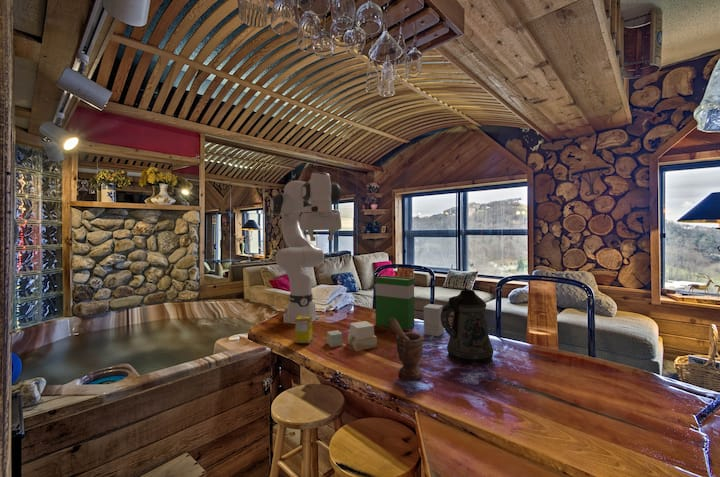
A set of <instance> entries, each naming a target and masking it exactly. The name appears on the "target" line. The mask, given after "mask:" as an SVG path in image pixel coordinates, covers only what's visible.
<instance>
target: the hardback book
mask: <svg viewBox="0 0 720 477" xmlns="http://www.w3.org/2000/svg"><path fill="white" fill-rule="evenodd" d="M392 317H393V318H395V319H396V320H397V321H398V323H399V325H400V327H401V329H402V330H406V331H409V330H411V329H413V327H415V278H414V277H407V276H405V277H404V276H394V275H384V274H383V275H381V276H376V277H375V325H376V326H382V327H388V328H391V327H390V325H389V323H388V320H389V319H390V318H392Z"/></svg>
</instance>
